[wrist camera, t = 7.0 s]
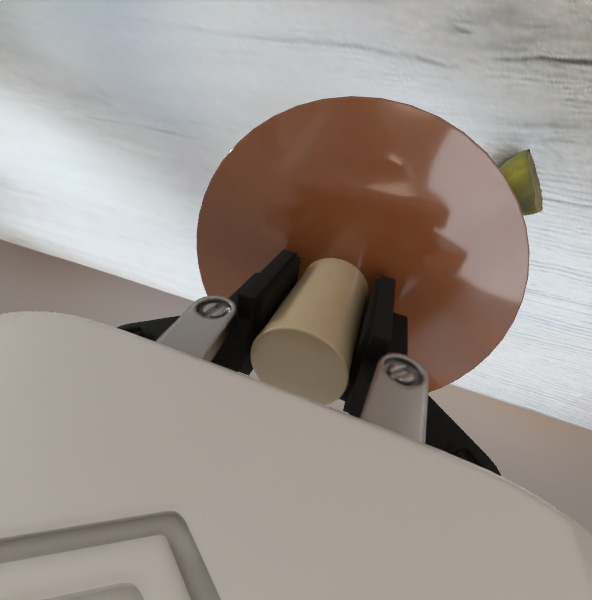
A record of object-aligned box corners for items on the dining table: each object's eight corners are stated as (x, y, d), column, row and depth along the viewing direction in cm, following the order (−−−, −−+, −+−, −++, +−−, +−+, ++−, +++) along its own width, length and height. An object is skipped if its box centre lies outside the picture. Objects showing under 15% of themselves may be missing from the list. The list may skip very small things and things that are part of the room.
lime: (511, 142, 24) (532, 144, 20) (562, 170, 24) (594, 179, 20) (471, 191, 26) (482, 202, 22) (517, 217, 26) (536, 233, 22)
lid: (205, 74, 11) (25, 25, 6) (620, 137, 8) (978, 151, 3) (213, 340, 18) (140, 420, 13) (430, 417, 16) (441, 555, 11)
